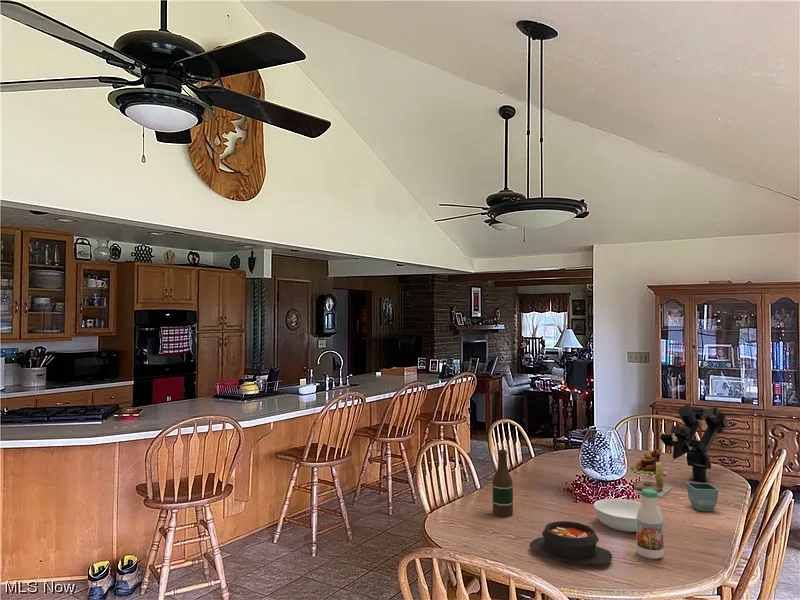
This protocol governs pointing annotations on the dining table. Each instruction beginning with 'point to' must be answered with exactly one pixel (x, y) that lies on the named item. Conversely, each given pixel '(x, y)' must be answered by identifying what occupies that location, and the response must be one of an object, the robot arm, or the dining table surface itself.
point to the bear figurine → (648, 464)
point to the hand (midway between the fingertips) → (673, 458)
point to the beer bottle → (502, 488)
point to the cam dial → (652, 485)
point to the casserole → (570, 543)
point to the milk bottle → (649, 526)
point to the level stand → (661, 493)
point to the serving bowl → (618, 513)
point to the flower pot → (702, 496)
